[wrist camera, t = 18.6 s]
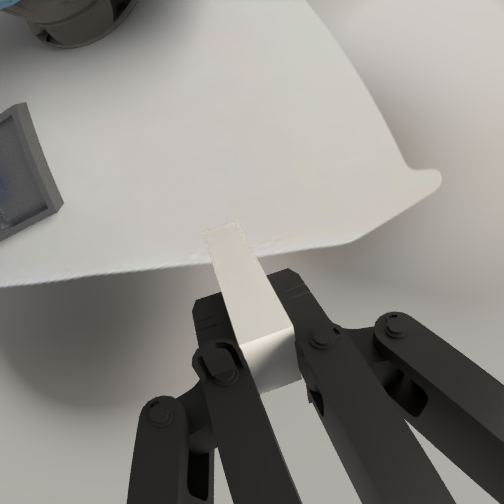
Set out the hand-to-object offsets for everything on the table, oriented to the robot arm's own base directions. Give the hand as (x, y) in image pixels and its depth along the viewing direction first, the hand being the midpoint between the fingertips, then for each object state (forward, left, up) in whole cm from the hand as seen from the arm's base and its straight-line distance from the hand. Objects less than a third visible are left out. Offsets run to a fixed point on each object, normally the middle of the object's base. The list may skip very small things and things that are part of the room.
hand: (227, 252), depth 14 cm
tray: (-6, -32, -30) cm, 44 cm away
